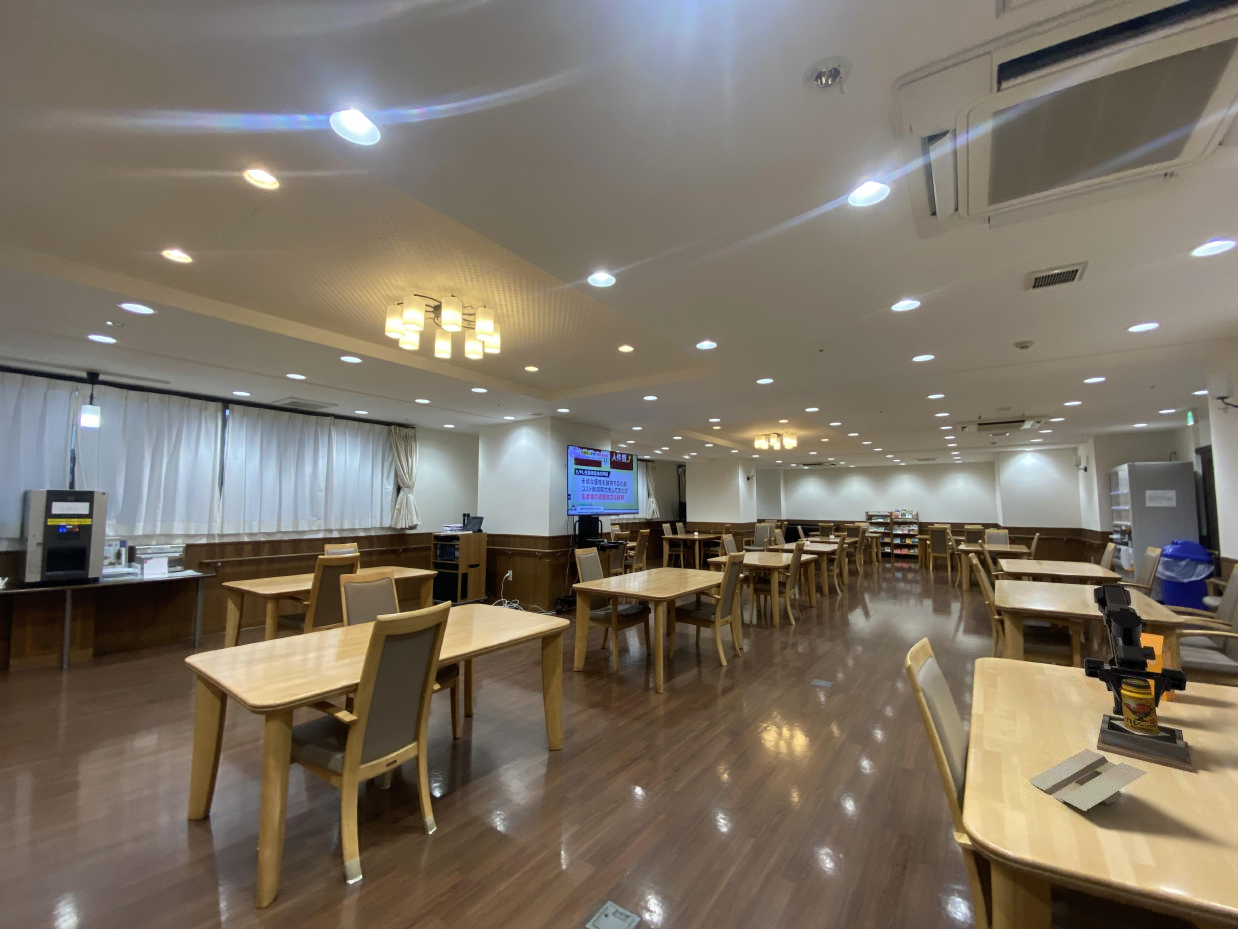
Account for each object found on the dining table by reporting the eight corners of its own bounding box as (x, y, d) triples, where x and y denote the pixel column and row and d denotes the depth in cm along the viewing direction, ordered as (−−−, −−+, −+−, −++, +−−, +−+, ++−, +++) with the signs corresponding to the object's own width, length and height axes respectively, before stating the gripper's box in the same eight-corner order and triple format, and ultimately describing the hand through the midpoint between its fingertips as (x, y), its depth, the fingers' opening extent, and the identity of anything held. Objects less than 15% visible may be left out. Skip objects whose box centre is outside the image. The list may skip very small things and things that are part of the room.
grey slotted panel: (1126, 853, 92) (1177, 796, 94) (1084, 811, 95) (1135, 756, 96) (1060, 816, 108) (1105, 767, 109) (1026, 781, 110) (1070, 734, 112)
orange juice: (1167, 701, 157) (1159, 637, 159) (1129, 693, 165) (1122, 631, 167) (1176, 697, 160) (1168, 634, 163) (1138, 689, 168) (1131, 629, 170)
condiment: (1137, 735, 123) (1132, 685, 124) (1109, 721, 131) (1104, 674, 133) (1171, 736, 122) (1165, 686, 123) (1140, 722, 130) (1134, 675, 132)
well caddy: (1101, 726, 138) (1100, 710, 139) (1188, 745, 127) (1186, 727, 127) (1097, 749, 125) (1095, 731, 125) (1193, 772, 113) (1190, 753, 114)
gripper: (1080, 627, 138) (1087, 679, 129) (1180, 638, 126) (1195, 695, 116) (1082, 650, 143) (1088, 701, 134) (1177, 662, 131) (1192, 719, 121)
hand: (1138, 703), depth 126 cm, fingers closed on condiment, 6 cm apart
